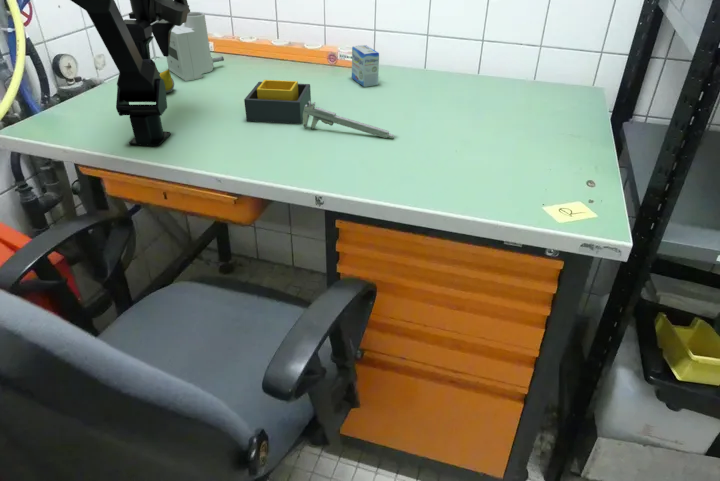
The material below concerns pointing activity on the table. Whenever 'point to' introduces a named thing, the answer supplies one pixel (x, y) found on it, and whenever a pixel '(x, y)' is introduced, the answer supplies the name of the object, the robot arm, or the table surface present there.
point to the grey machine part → (190, 48)
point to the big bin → (277, 107)
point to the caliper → (339, 121)
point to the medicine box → (365, 65)
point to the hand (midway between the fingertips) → (157, 62)
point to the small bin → (278, 90)
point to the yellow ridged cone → (167, 81)
